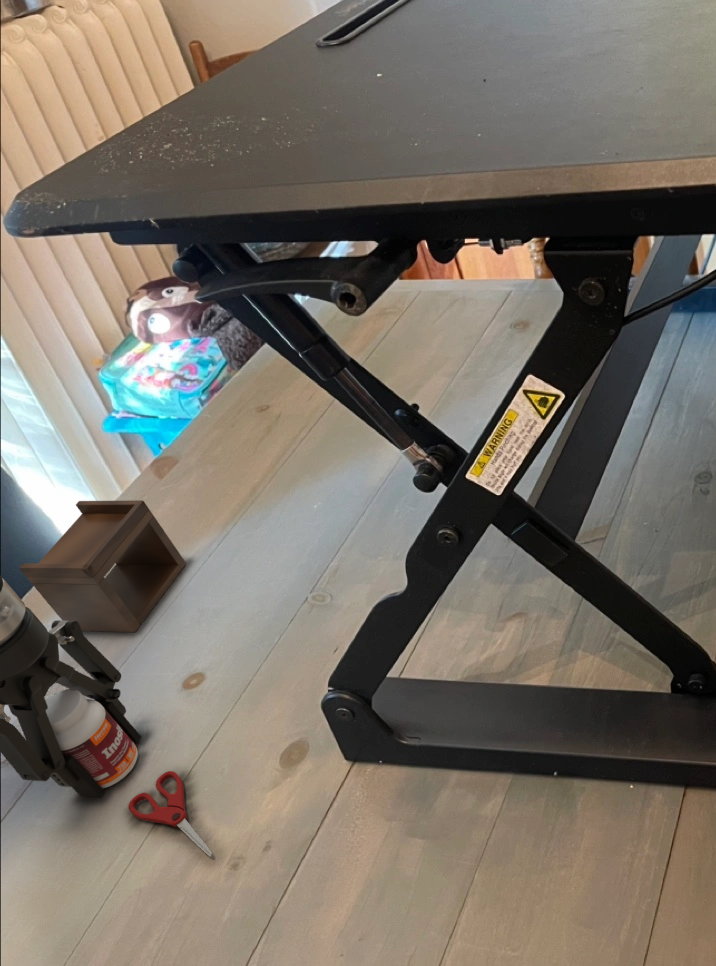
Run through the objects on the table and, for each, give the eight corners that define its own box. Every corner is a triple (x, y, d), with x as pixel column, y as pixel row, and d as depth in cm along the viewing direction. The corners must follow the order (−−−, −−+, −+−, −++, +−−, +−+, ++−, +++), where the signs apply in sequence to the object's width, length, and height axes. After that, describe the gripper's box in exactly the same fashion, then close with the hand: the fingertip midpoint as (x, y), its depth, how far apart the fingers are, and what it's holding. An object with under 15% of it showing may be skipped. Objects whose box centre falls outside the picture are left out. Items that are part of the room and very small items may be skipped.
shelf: (70, 630, 137) (18, 567, 130) (124, 562, 146) (79, 500, 139) (135, 632, 135) (86, 568, 128) (186, 563, 144) (143, 500, 137)
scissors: (174, 771, 116) (169, 766, 116) (237, 837, 108) (233, 832, 108) (128, 809, 113) (123, 803, 113) (189, 879, 105) (185, 874, 105)
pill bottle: (135, 780, 116) (82, 720, 110) (78, 799, 116) (20, 740, 109) (144, 735, 121) (93, 675, 114) (89, 753, 120) (34, 694, 114)
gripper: (-50, 713, 96) (86, 848, 110) (81, 559, 110) (187, 695, 125) (-115, 710, 98) (27, 843, 112) (22, 559, 112) (133, 693, 126)
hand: (111, 765), depth 118 cm, fingers closed on pill bottle, 6 cm apart
